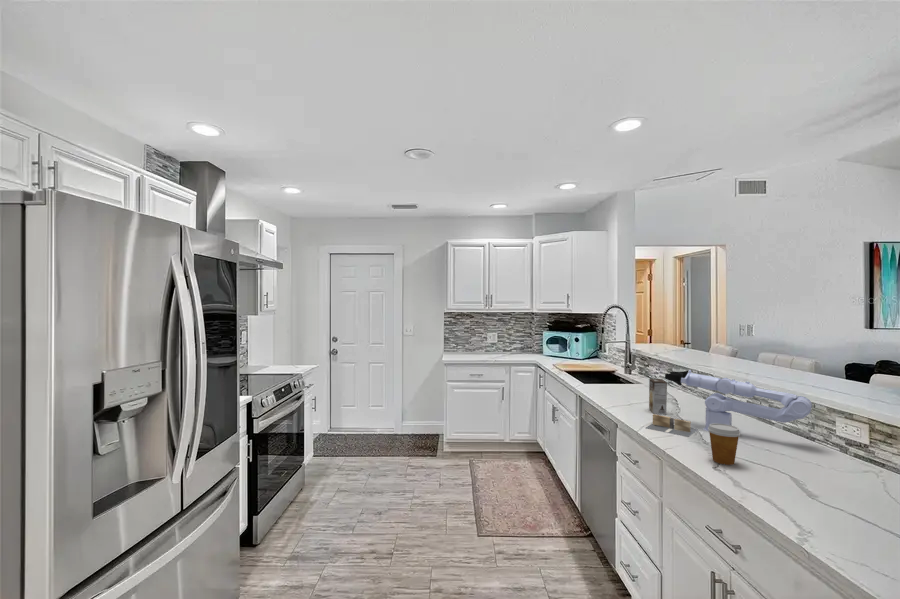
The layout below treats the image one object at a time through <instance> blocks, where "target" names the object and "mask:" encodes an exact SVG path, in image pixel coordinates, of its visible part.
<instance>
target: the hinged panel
mask: <svg viewBox="0 0 900 599" xmlns="http://www.w3.org/2000/svg"><path fill="white" fill-rule="evenodd" d="M674 419H675V418H674V417H671V416H667V415H660V414H653V413H652V423H653V425H658V426H663V427H669V428H674Z"/></svg>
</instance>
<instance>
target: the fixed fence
mask: <svg viewBox="0 0 900 599" xmlns="http://www.w3.org/2000/svg"><path fill="white" fill-rule="evenodd" d="M691 423H692V422H691V421H689V420H685V419H678V418H674V429H676V430H681V431H686V432H691V428H692V425H691Z"/></svg>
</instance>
